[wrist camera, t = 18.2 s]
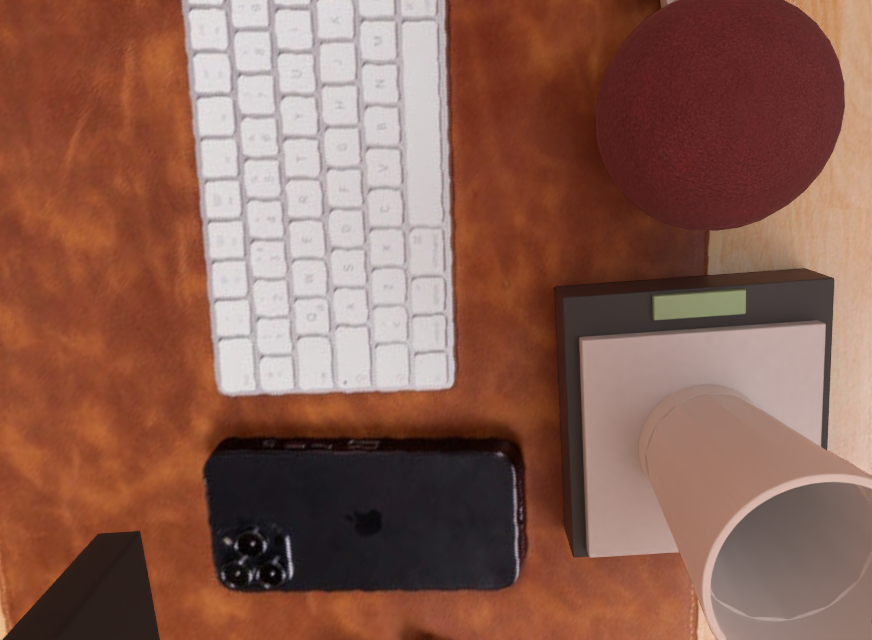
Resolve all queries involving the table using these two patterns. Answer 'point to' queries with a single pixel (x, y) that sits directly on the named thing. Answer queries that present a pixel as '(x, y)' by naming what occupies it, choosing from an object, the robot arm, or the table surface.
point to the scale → (676, 381)
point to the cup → (761, 519)
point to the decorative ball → (719, 111)
